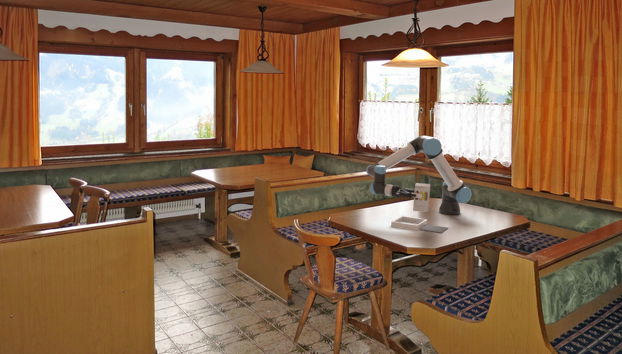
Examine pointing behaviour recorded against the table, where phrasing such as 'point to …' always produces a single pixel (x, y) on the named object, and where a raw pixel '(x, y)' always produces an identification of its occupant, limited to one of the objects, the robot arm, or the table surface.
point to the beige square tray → (409, 219)
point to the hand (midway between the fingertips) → (424, 194)
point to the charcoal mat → (434, 228)
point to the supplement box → (423, 202)
